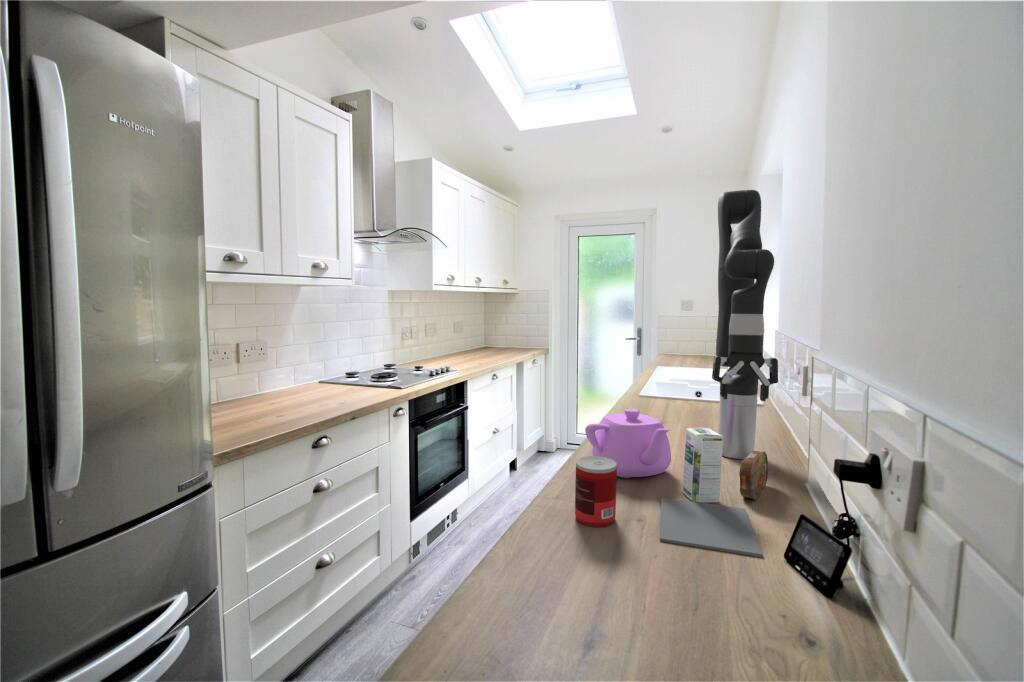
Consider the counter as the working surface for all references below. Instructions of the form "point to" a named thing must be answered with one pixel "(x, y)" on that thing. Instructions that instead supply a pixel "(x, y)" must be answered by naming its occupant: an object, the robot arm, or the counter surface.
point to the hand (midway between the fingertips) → (743, 399)
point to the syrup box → (702, 465)
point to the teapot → (631, 443)
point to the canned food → (595, 491)
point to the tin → (753, 474)
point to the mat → (708, 526)
